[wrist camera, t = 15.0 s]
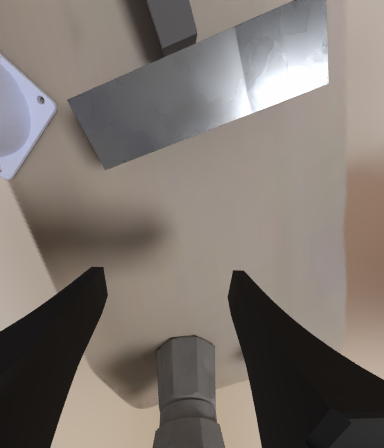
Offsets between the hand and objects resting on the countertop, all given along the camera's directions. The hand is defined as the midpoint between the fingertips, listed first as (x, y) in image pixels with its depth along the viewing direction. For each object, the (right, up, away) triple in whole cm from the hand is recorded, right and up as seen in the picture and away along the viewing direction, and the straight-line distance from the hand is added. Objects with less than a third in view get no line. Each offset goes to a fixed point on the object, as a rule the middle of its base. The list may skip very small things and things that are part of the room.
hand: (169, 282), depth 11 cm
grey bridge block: (+1, +13, +4) cm, 14 cm away
